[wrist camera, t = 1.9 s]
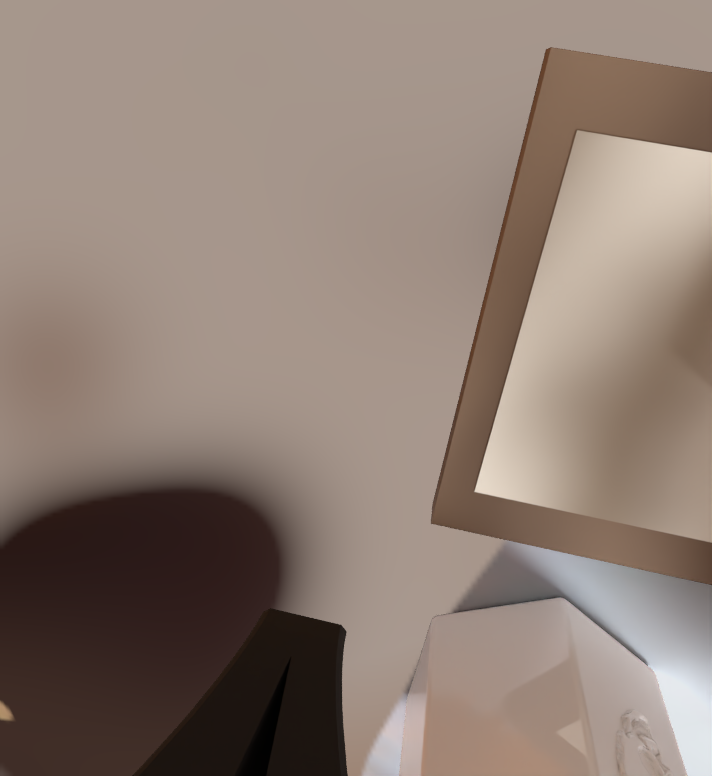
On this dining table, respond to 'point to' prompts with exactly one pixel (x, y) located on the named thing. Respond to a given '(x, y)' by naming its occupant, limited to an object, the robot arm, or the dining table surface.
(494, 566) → the dining table surface
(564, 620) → the jar
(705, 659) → the dining table surface
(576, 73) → the board
